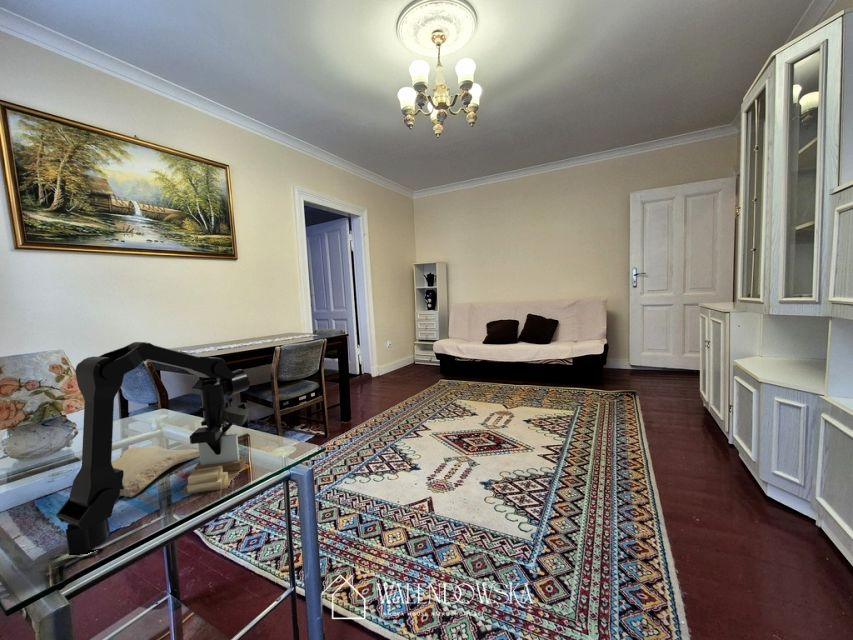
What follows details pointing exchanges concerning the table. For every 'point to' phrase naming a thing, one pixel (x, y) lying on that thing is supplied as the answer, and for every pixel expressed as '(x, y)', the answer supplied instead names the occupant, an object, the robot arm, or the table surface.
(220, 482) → the offcut lower
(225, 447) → the panel
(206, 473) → the offcut upper
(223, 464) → the rack
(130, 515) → the table surface
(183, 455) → the tan curved tapered piece
